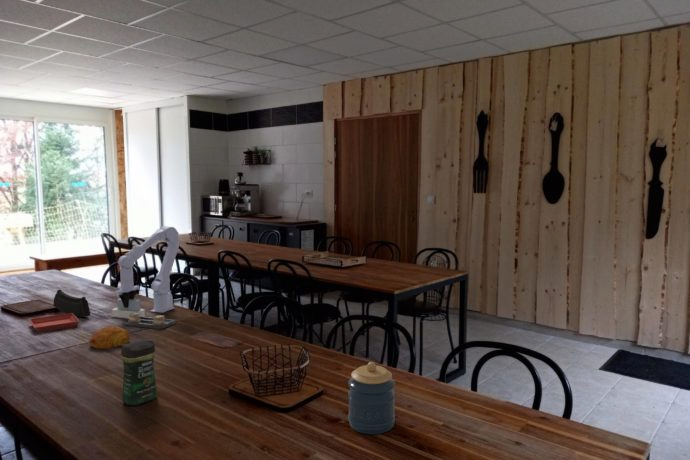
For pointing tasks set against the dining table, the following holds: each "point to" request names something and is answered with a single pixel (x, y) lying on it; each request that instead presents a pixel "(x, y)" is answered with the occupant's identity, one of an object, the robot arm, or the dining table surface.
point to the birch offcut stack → (134, 317)
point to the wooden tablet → (216, 340)
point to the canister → (371, 399)
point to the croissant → (109, 337)
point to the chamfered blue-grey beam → (133, 305)
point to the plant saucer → (54, 322)
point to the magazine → (71, 304)
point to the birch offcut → (158, 319)
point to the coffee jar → (138, 372)
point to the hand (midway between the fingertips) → (128, 306)
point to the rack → (149, 323)
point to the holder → (126, 313)
